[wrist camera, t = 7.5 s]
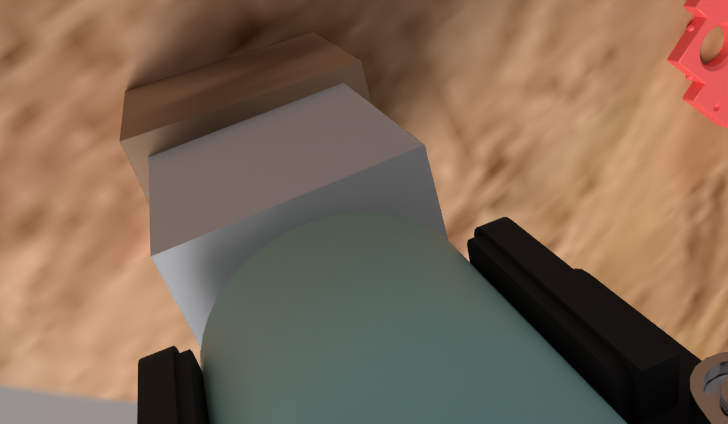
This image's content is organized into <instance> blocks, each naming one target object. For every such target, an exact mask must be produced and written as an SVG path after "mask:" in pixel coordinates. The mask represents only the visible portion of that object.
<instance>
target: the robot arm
mask: <svg viewBox="0 0 728 424" xmlns="http://www.w3.org/2000/svg"><path fill="white" fill-rule="evenodd" d="M467 247H468V254H469V259H470V263H471V264H472V265H473V266H474V267H475V268H476V269H477V270H478V271H479V272H480V274H481V275H482V276H483V277H484V278H485V279H486V280H487V281H488V282H489V283H490V284H491V285H492V286H493V287H494V288H495V289H496V290H497V291H498V292H499V293H500V294H501V295H502V296H503V297H504V298H505V299H506V300H507V301H508V302H509V303H510V304H511V305H512V306H513V307H514V308H515V309H516V310H517V311H518V312H519V313H520V314H521V315H522V316H523V317H524V318H525V319H526V321H527V322H528V323H529V324H530V325H531V326H532V327H533V328H534V329H535V330H536V331H537V332H538V333H539V334H540V335H541V336H542V337H543V338H544V339H545V340H546V341H547V342H548V343H549V344H550V345H551V346H552V347H553V348H554V349H555V350H556V351H557V352H558V353H559V354H560V355H561V356H562V357H563V358H564V359H565V360H566V361H567V362H568V363H569V364H570V365H571V367H572V368H573V369H574V370H575V371H576V372H577V373H578V374H579V375H580V376H581V377H582V378H583V379H584V380H585V381H586V382H587V383H588V384H589V385H590V386H591V387H592V388H593V389H594V390H595V391H596V392H597V393H598V394H599V395H600V396H601V397H602V398H603V399H604V400H605V401H606V402H607V403H608V404H609V405H610V406H611V407H612V408H613V409H614V410H615V411H616V412H617V414H618V415H619V416H620V417H621V418H622V419H623V420H624V421H625V422H626V423H627V424H728V352H722V353H719V354H716V355H713V356H710V357H707V358H705V359H704V360H703V361H701V360H700V359H699V358H697V357H696V356H695V355H694V354H692V353H691V352H690V351H688V350H687V349H686V348H685V347H683V346H682V345H681V344H679V343H678V342H677V341H675V340H674V339H673V338H672V337H670V336H669V335H668V334H666V333H665V332H664V331H663V330H661V329H660V328H659V327H657V326H656V325H655V324H654V323H652V322H651V321H650V320H648V319H647V318H646V317H645V316H643V315H642V314H641V313H639V312H638V311H637V310H636V309H634V308H633V307H632V306H630V305H629V304H628V303H626V302H625V301H624V300H623V299H621V298H620V297H619V296H617V295H616V294H615V293H614V292H612V291H611V290H610V289H608V288H607V287H606V286H605V285H603V284H602V283H601V282H599V281H598V280H597V279H596V278H594V277H593V276H592V275H590V274H589V273H587V272H586V271H584V270H582V269H573V268H571V267H570V266H569V265H568V264H566V263H565V262H564V261H563V260H561V259H560V258H559V257H558V256H556V255H555V254H554V253H552V252H551V251H550V250H549V249H547V248H546V247H545V246H544V245H542V244H541V243H540V242H539V241H537V240H536V239H535V238H534V237H532V236H531V235H530V234H529V233H527V232H526V231H525V230H524V229H522V228H521V227H520V226H518V225H517V224H516V223H515V222H513V221H512V220H511V219H509V218H508V217H503V218H500V219H497V220H495V221H492V222H490V223H487V224H485V225H482V226H479V227H477V228H476V229H475V231H474V238H471V239H469V240H468V242H467ZM137 424H209V418H208V410H207V403H206V395H205V388H204V380H203V373H202V370H201V368H200V366H199V364H198V362H197V360H196V358H195V356H194V354H193V352H192V351H191V350H190V349H189V350H187V351H184V352H181V353H179V351H178V349H177V348H176V347H175V346H172V347H169V348H167V349H164V350H162V351H159V352H156V353H154V354H151V355H149V356H146V357H144V358H141V359H140V360H139V362H138V416H137Z"/></svg>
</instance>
